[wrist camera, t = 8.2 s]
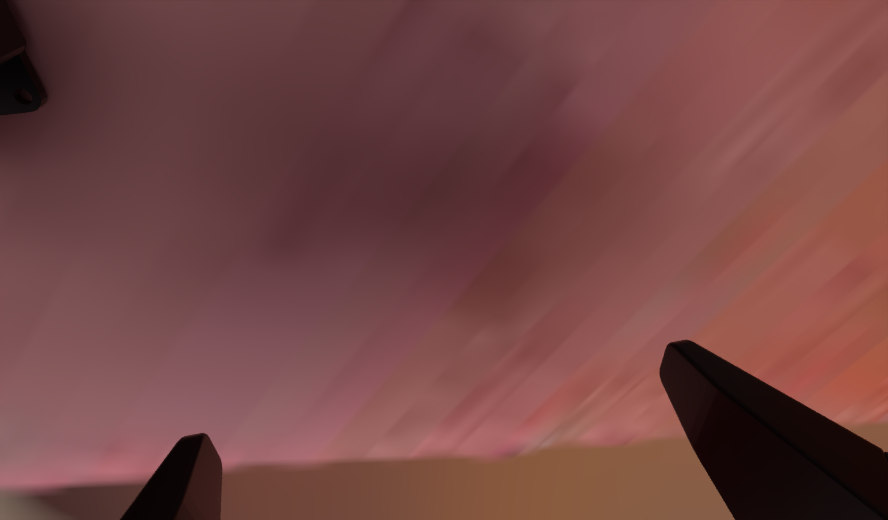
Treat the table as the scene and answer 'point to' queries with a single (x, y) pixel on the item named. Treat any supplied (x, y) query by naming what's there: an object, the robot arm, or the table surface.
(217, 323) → the table surface
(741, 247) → the table surface
